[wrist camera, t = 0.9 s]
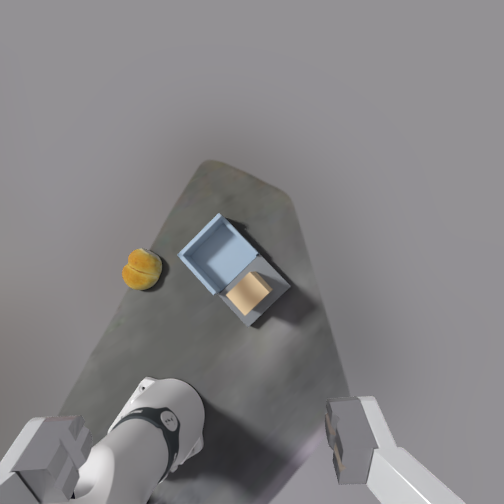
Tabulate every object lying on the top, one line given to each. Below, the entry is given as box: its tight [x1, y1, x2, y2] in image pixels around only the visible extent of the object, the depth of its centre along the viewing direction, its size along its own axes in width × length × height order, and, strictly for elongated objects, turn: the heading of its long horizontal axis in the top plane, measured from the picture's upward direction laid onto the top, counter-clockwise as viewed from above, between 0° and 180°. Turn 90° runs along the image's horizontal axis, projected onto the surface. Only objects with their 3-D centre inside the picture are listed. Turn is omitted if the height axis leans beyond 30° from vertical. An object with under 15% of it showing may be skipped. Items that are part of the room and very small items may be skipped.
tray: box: [177, 213, 260, 295], centre depth 61 cm, size 12×11×5 cm
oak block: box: [226, 272, 273, 315], centre depth 56 cm, size 6×5×8 cm
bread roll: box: [122, 248, 162, 290], centre depth 65 cm, size 8×9×4 cm
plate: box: [219, 254, 291, 327], centre depth 61 cm, size 12×9×2 cm
